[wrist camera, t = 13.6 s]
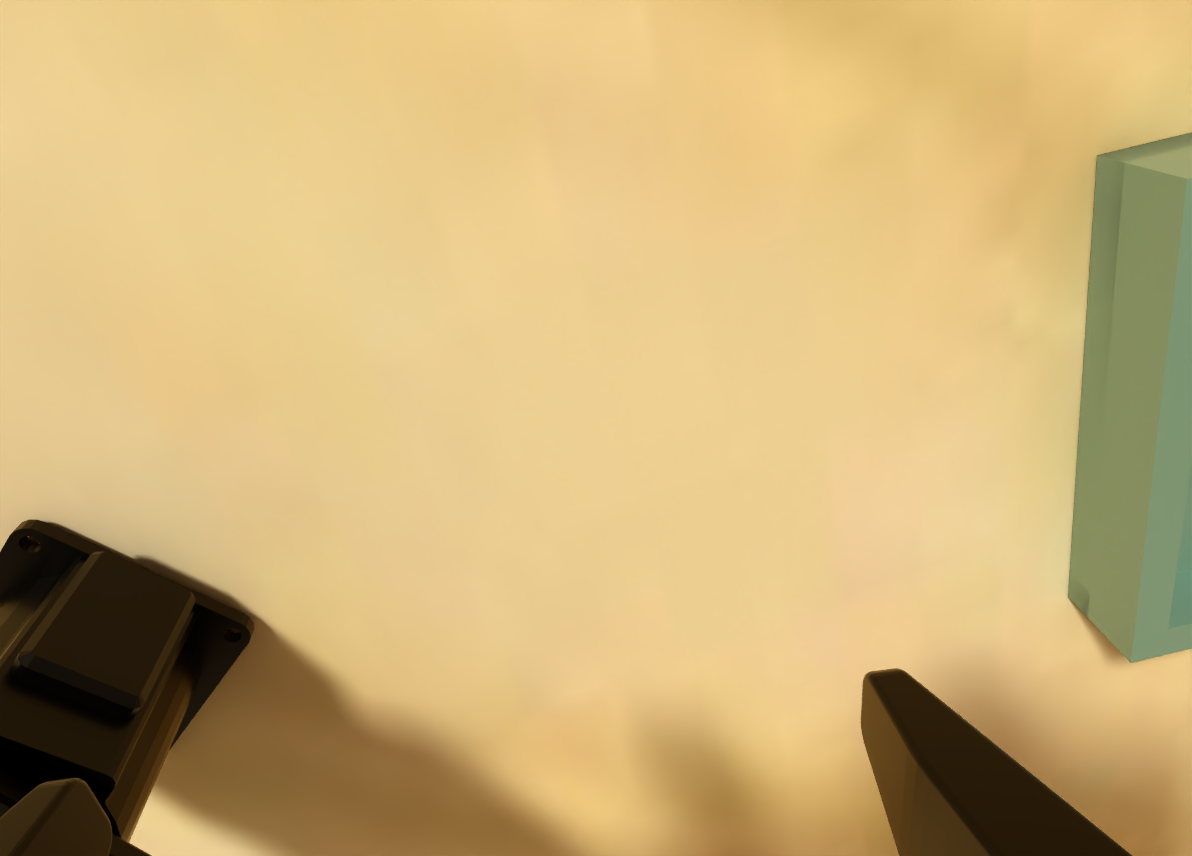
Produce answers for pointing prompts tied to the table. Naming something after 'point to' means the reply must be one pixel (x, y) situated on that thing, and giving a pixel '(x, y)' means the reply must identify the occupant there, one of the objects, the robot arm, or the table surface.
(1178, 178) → the tray
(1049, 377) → the table surface
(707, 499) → the table surface
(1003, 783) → the robot arm
